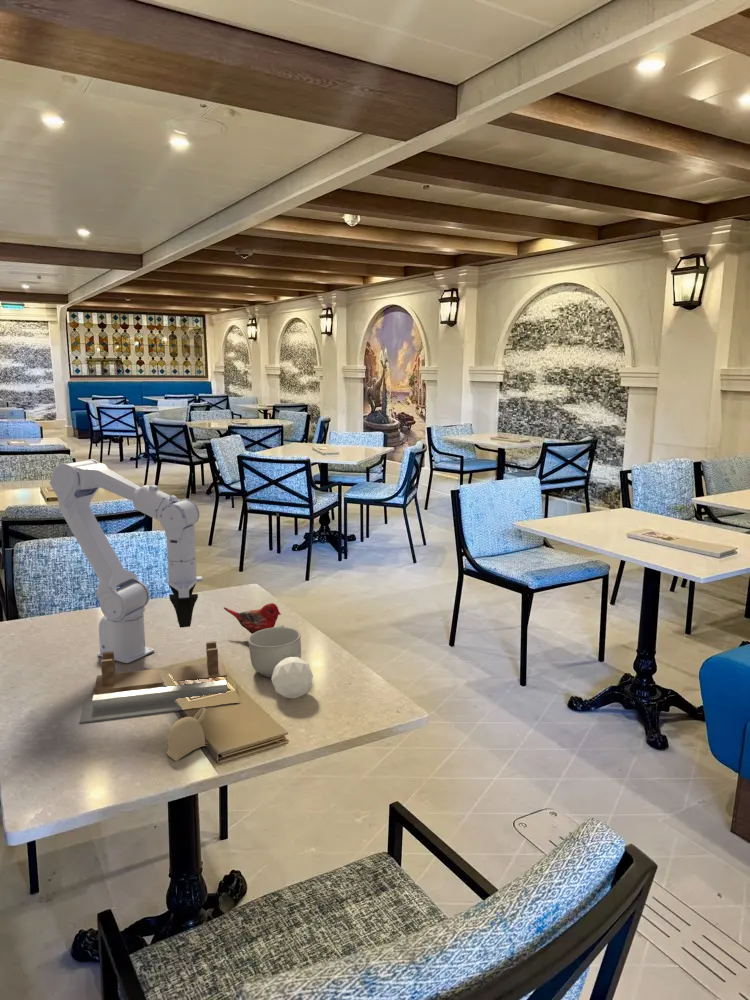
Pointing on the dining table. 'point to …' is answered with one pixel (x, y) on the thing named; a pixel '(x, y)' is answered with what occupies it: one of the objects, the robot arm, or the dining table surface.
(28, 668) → the dining table surface
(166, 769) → the dining table surface
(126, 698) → the steel bar
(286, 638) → the teacup
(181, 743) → the decorative ornament
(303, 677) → the geometric ball
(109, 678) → the hook stands
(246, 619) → the decorative bird figurine
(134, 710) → the mat
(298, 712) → the dining table surface
